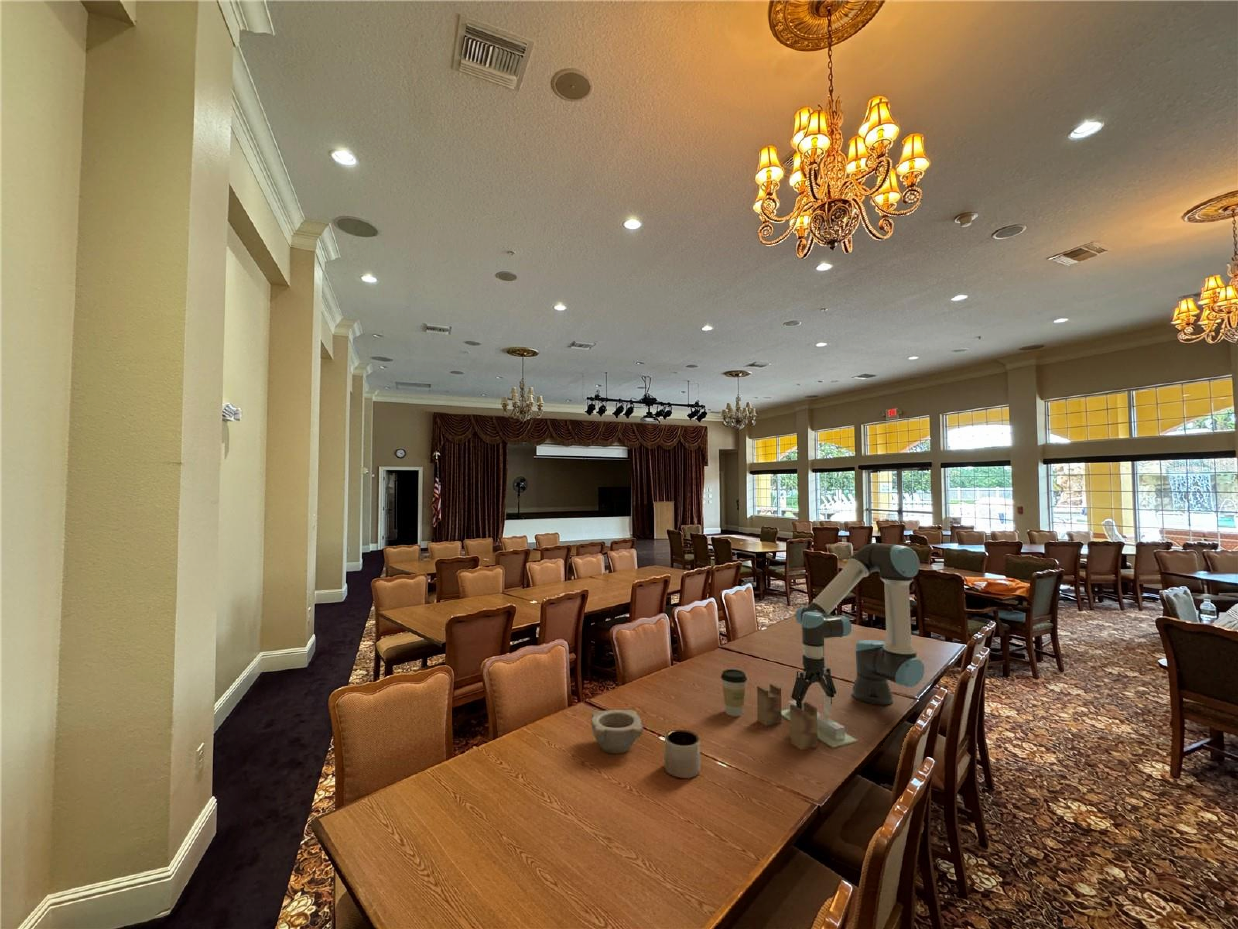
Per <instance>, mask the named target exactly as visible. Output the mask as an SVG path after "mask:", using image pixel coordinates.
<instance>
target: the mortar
mask: <svg viewBox="0 0 1238 929" xmlns="http://www.w3.org/2000/svg"><path fill="white" fill-rule="evenodd" d="M590 715H591V716H590V717H591V719H590V724H591V729H592V732H593V735H594V737H595V740H596V741H597V744H598V745H599V747H600V748H601V749H602V750H603V752H605V751H606V753H608V754H612V753H615V754H614V755H620V754H619V753H621V754H623V753H625V752H627V751H629V750H630V749H631V747H632V746H633V744H634V743H635V741H636V739H638V738H640V737H641V736H642V735H643V732H644V727H643V726H642V719H641V717H640V716H639V715H638V712H637V711H635V710H632V709H627V710H624V709H623V710H621V709H609V710H602V711H600V710H597V711H596V710H595V711H593V712H592V713H591V714H590Z"/></svg>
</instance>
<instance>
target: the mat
mask: <svg viewBox="0 0 1238 929" xmlns="http://www.w3.org/2000/svg"><path fill="white" fill-rule="evenodd" d="M781 713H782V718H785V720H787V721H789V722H790V713H789V712H788V708H787V709H783V710H782V709H781ZM817 738H818V741H821V742H823V743H824V744H826V745H827V746H829V747H830V748H837V747H841V746H846V745H850V744H855V743H858V739H857V738H856V737H853V736H851V735H849V734H848V733H846V732H845V739H843V740H839V741H835V740H833V739H832V738H830V737H828V736H827V735H825V734H823V733H822V732H820V731H818V730H817Z"/></svg>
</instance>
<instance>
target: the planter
mask: <svg viewBox="0 0 1238 929" xmlns="http://www.w3.org/2000/svg"><path fill="white" fill-rule="evenodd" d="M700 738H701V737H700V736H699V735H698V734H697V733H695V731H694V732H693V731H692V730H687V729H673V730H669V731H668V732H666V733H665V735H664V769H665V771H666V773H667V774H668V775H670V776H672V777H674V778H677V779H681V778H684V779H685V778H688V779H692V778H694V777H696V776H697V775H698V774H700V772H701V739H700Z"/></svg>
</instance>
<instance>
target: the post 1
mask: <svg viewBox="0 0 1238 929" xmlns="http://www.w3.org/2000/svg"><path fill="white" fill-rule="evenodd" d="M756 699H757V703H756V705H757V706H756V707H757V708H756V709H757V711H756V712H757V721H758V722H759V723H761V724H762V725H764V726H766V727H768V726H769V727H770V726H773V725H779V724H782V723H783V721H782V718H783V716H782V713H781V711H782V688H781V687H779V686H778V685H776V684H774V683H769V690H768V689H766V688H765V687H763V686H761V685H757V686H756Z"/></svg>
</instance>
